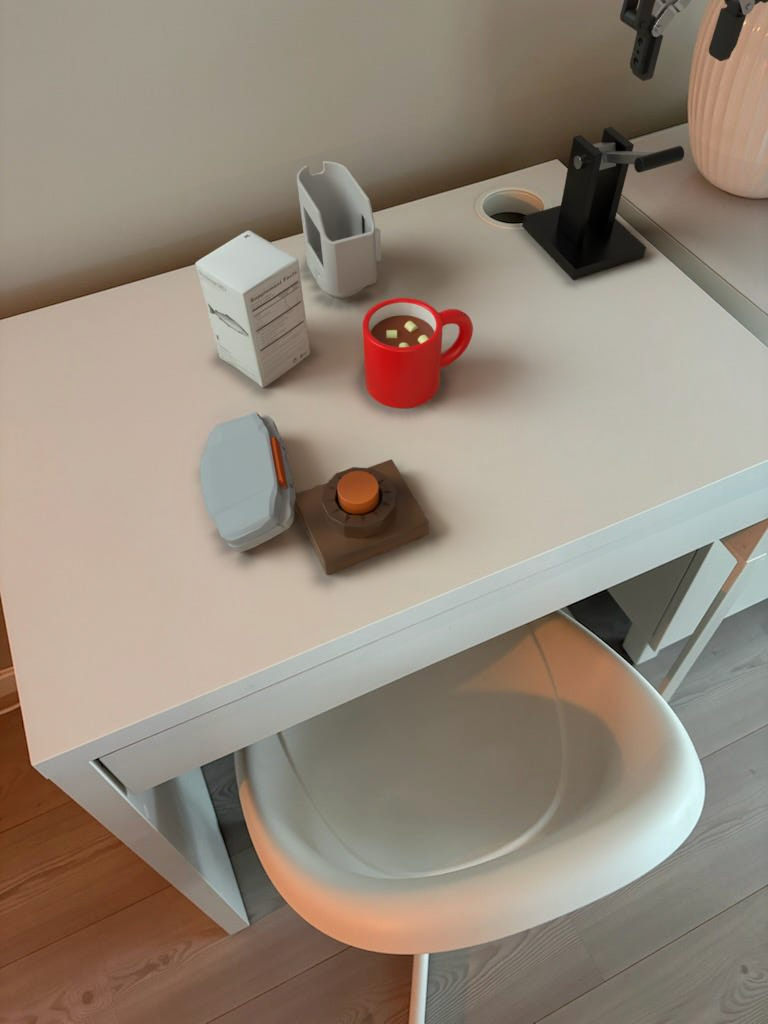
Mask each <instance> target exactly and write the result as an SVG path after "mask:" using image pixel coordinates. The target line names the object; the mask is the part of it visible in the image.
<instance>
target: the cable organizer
mask: <svg viewBox="0 0 768 1024" xmlns="http://www.w3.org/2000/svg"><path fill="white" fill-rule="evenodd" d="M322 164H323V165H322V167H323V168H322V169H323V170H322V171H320V172H317V173H312V174H310V169H309V165H307V164H306V165H305V166H303V167H302V168H301V169H299V170H298V172H297V175H296V183H297V184H296V185H297V191H298V199H299V207H300V217H301V223H302V224H301V225H302V231H303V241H304V248H305V254H306V265H307V266H308V268H309V271H310V272H311V274H312V276H313V278H314V279H315V281H316V282H317V285H318V286H319V288H320V289H321V290H322V291H323V292H324V293H326V294H327V295H329V296H331V297H333V298H337V299H347V298H350V297H353V296H355V295H356V294H358V293H359V292H361V291H362V290H363V289H364V288H365V287H366V286H370V285H373V284H376V282H377V279H378V275H377V273H378V272H377V271H378V270H377V262H379V263H380V262H382V254H381V253H382V251H381V250H382V249H381V248H382V247H381V228H377V227H376V224H375V222H376V221H375V217H374V213H373V208H372V203H371V200H370V198H369V197H368V195H367V194H366V192H365V191H364V190H363V188H362V187H361V185H360V184H359V182H358V181H357V180H356V178H355V176H353V173H351V171H350V169H348V168H347V167H346V166H345V165H343V164H342V163H339V162H336V161H330V160H326V161H325V160H324V161H322Z"/></svg>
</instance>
